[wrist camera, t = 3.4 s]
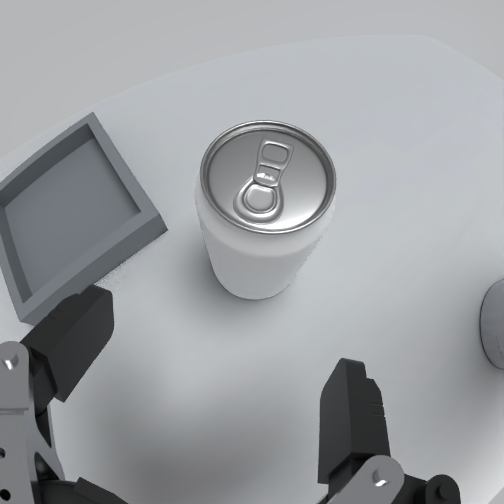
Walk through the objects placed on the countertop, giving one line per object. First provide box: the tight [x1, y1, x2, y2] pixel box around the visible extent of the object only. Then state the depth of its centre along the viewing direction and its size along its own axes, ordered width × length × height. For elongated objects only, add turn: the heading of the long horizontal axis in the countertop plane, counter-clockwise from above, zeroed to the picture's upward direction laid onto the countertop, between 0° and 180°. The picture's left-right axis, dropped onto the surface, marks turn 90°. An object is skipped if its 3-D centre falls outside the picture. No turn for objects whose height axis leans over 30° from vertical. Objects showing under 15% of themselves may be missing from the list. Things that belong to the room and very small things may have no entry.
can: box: [195, 120, 336, 300], centre depth 18 cm, size 6×6×12 cm
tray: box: [0, 112, 168, 325], centre depth 23 cm, size 14×14×3 cm
